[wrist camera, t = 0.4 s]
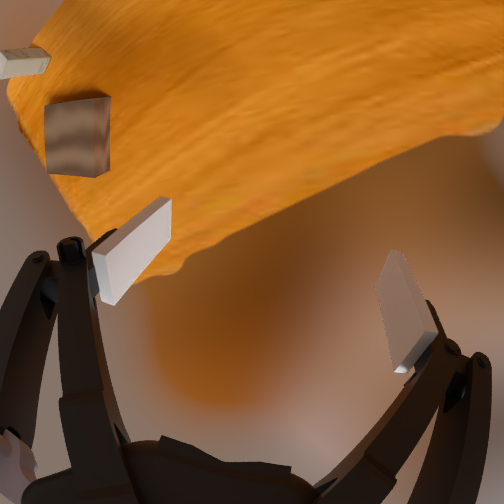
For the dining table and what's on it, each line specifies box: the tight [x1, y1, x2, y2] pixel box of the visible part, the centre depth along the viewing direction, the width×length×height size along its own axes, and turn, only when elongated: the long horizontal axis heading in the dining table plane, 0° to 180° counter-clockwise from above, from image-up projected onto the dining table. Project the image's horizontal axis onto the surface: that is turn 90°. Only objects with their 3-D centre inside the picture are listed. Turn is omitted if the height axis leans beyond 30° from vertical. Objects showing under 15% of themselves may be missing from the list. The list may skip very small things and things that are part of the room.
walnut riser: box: [44, 97, 111, 178], centre depth 41 cm, size 14×14×5 cm
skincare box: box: [0, 48, 51, 79], centre depth 30 cm, size 6×4×12 cm
